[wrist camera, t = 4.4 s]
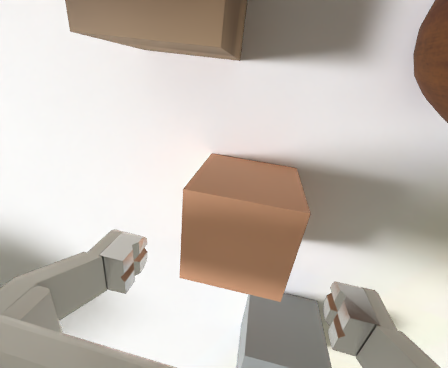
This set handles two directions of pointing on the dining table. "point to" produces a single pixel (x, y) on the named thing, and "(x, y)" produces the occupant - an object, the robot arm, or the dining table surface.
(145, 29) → the walnut block
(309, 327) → the slate grey block
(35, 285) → the robot arm
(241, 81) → the dining table surface
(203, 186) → the terracotta block
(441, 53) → the wooden figurine
